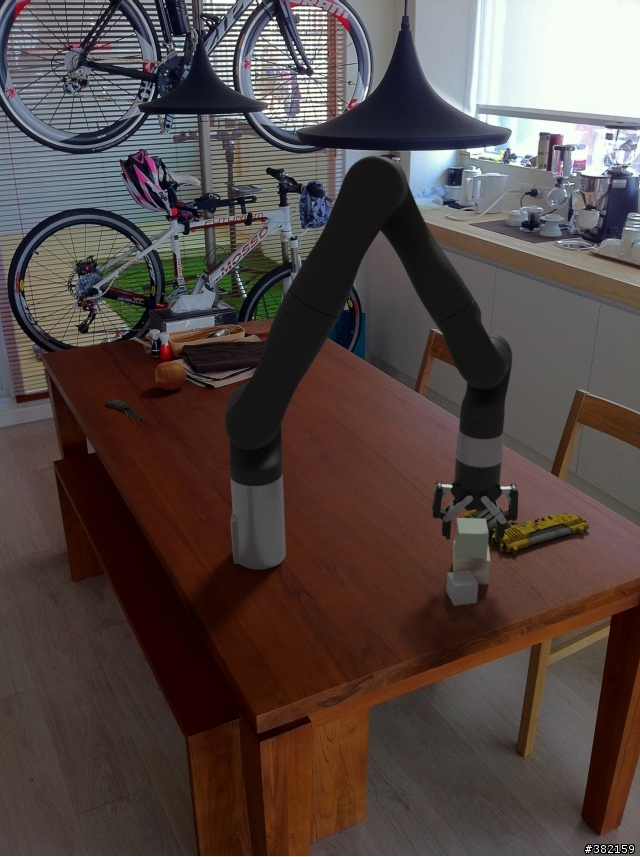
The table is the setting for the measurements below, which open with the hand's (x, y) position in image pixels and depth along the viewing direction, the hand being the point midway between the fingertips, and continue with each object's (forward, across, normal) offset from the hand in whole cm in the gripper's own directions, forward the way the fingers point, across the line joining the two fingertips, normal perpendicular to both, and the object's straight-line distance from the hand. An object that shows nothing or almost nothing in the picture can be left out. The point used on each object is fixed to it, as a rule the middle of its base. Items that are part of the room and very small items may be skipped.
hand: (472, 538), depth 137 cm
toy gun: (+8, -12, -16) cm, 22 cm away
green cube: (+3, 0, 0) cm, 3 cm away
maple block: (+8, 0, 0) cm, 8 cm away
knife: (+8, +81, -63) cm, 103 cm away
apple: (+8, +76, -84) cm, 114 cm away
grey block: (+8, +2, +7) cm, 10 cm away
